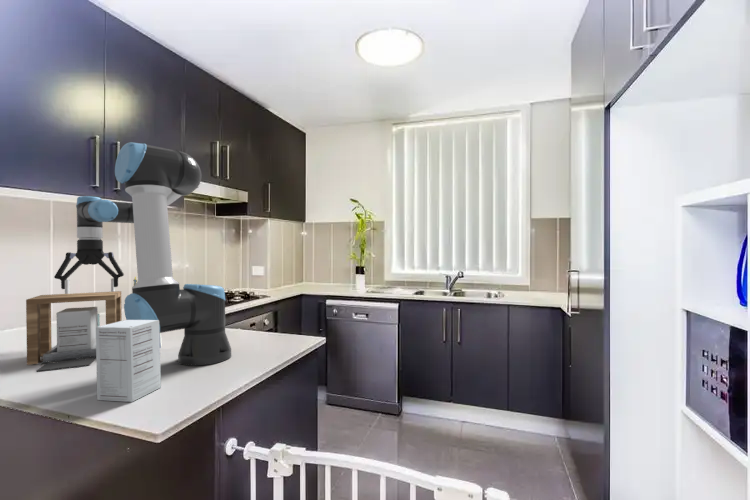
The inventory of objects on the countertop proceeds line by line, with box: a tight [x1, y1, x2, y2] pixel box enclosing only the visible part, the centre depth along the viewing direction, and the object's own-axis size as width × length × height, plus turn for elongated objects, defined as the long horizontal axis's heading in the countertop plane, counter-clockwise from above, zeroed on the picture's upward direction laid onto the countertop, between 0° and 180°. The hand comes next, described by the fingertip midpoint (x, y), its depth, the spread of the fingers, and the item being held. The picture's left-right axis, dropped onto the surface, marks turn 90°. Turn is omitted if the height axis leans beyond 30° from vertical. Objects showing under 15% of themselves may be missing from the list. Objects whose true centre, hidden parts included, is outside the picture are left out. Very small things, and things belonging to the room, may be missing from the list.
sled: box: [42, 313, 101, 364], centre depth 128 cm, size 26×14×10 cm, turn 26°
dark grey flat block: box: [36, 357, 96, 373], centre depth 112 cm, size 8×12×1 cm, turn 116°
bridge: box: [25, 290, 123, 366], centre depth 123 cm, size 12×22×20 cm, turn 116°
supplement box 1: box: [55, 306, 99, 352], centre depth 123 cm, size 9×9×15 cm
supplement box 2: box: [95, 319, 162, 403], centre depth 89 cm, size 10×9×17 cm
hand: (90, 297), depth 138 cm, fingers open, 13 cm apart
